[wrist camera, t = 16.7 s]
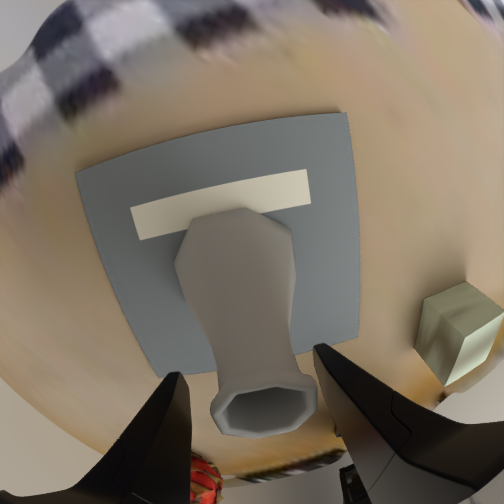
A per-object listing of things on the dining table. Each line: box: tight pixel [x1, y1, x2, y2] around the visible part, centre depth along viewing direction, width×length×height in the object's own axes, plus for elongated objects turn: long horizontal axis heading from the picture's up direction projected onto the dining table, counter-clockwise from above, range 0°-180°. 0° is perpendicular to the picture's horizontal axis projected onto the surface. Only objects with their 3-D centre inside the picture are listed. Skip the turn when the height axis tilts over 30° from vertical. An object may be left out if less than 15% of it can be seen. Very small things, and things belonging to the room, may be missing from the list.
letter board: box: [75, 113, 360, 378], centre depth 16 cm, size 16×16×1 cm
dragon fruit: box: [191, 453, 223, 504], centre depth 23 cm, size 8×8×12 cm
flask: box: [173, 207, 317, 439], centre depth 11 cm, size 7×7×10 cm
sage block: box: [414, 281, 504, 387], centre depth 18 cm, size 6×6×6 cm
